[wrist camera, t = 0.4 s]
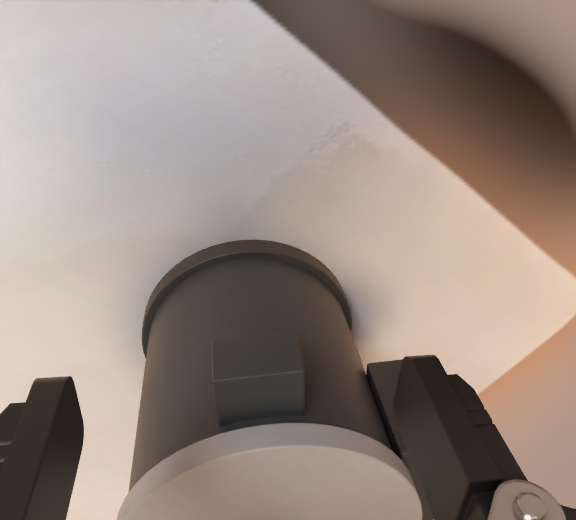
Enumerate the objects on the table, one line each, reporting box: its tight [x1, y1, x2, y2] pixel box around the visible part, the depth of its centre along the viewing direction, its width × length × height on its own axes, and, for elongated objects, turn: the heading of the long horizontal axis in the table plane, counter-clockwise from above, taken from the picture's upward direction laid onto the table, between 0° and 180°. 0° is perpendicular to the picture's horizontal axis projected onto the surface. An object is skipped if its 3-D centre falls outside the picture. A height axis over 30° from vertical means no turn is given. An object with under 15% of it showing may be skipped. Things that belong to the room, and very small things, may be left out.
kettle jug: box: [117, 240, 434, 520], centre depth 25 cm, size 13×17×14 cm
